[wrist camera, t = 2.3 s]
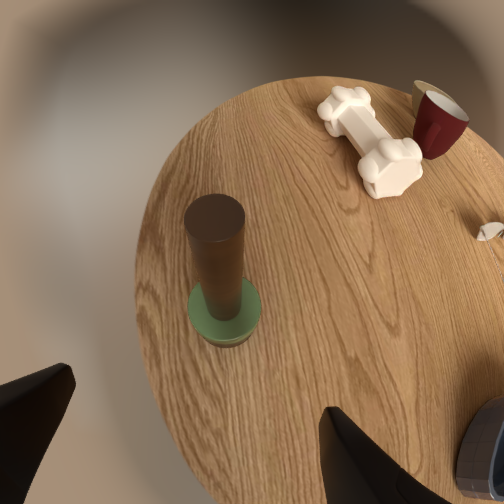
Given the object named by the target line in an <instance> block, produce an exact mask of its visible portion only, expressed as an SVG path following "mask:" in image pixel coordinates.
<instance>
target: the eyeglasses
mask: <svg viewBox="0 0 504 504" xmlns="http://www.w3.org/2000/svg"><path fill="white" fill-rule="evenodd" d="M479 228H480V230H479V232H478V234H477V237H476V239H477V240H478V241H484V240H487V242H488V240H489V239H491V238H492V237H494V236H495V235H497V234H498V233H499V232H500V231H502V230H503V229H504V225H503V224H502V223H499V222H489V223H486V224H485V225H482V226H480V227H479ZM499 234H500V235H501V234H502V233H499ZM500 235H499V236H500ZM499 236H498V237H499ZM502 238H503V239H504V235H503V237H502ZM488 244H489V242H488ZM489 247H490V244H489ZM490 249H491V247H490ZM491 251H492V249H491ZM492 254H493V252H492ZM493 256H494V254H493ZM494 259H495V257H494ZM495 261H496V259H495ZM496 264H497V262H496ZM497 267H498V264H497ZM498 269H499V267H498ZM499 272H500V269H499ZM500 274H501V272H500ZM501 277H502V275H501ZM502 280H503V277H502ZM503 282H504V280H503Z"/></svg>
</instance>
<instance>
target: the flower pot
mask: <svg viewBox="0 0 504 504" xmlns="http://www.w3.org/2000/svg"><path fill="white" fill-rule="evenodd" d="M426 90H431V91H434V92H437V93H439V94H441V95H443V96H445V97H447V98H448V99H450V100H451V101H453V102H454V103H455V104H456V102H455V101H454V100H453V99H452V98H451V97H450V96H448V95H447V94H446V93H444V92H443V91H441V90H440V89H438V88H436V87H434V86H432V85H430V84H428V83H425V82H422V81H414V85H413V92H412V103H413V111H414V116H415V118H416V117H417V113H418V109H419V105H420V102H421V100H422V97H423V95H424V93H425V91H426Z"/></svg>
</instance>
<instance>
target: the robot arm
mask: <svg viewBox="0 0 504 504" xmlns="http://www.w3.org/2000/svg"><path fill="white" fill-rule="evenodd" d="M75 387H76V382H75V378H74V375H73V372H72V369H71V367H70V366H69V365H67V364H64V363H58V364H56V365H53V366H51V367H48V368H45V369H43V370H40V371H38V372H35V373H32V374H30V375H27V376H24V377H22V378H19V379H17V380H14V381H11V382H8V383H6V384H3V385H0V504H23V503H24V501H25V498H26V496H27V493H28V490H29V488H30V486H31V483H32V481H33V478H34V476H35V474H36V472H37V469H38V467H39V465H40V463H41V461H42V459H43V456H44V454H45V452H46V450H47V448H48V446H49V444H50V442H51V440H52V438H53V436H54V434H55V432H56V430H57V428H58V426H59V425H60V423H61V421H62V418H63V416H64V414H65V412H66V409H67V406H68V404H69V402H70V399H71V397H72V394H73V392H74V390H75ZM319 444H320V463H321V471H322V476H323V482H324V488H325V493H326V499H327V504H451V503H450V502H448V501H447V500H445V499H443V498H442V497H440V496H439V495H437V494H436V493H434V492H432V491H431V490H429V489H428V488H427V487H425V486H424V485H422V484H421V483H420V482H418V481H417V480H416V479H415V478H413V477H412V476H411V475H410V474H409V473H407V472H406V471H405V470H404V469H403V468H400V465H398V464H397V463H396V462H395V461H394V460H393V459H392V458H391V457H390V456H389V455H388V454H386V453H385V452H384V451H383V450H382V449H381V448H380V447H379V446H378V445H377V444H376V443H375V442H374V441H373V440H372V439H371V438H370V437H368V436H367V435H366V434H365V433H364V432H363V431H362V430H361V429H360V428H359V427H358V426H357V425H356V424H355V423H354V422H353V421H352V420H351V419H350V418H349V417H348V416H347V415H346V414H345V413H344V412H343V411H342V410H341V409H340V408H339V407H337V406H334V407H326V408H325V409H324V412H323V414H322V417H321V419H320V422H319Z"/></svg>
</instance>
